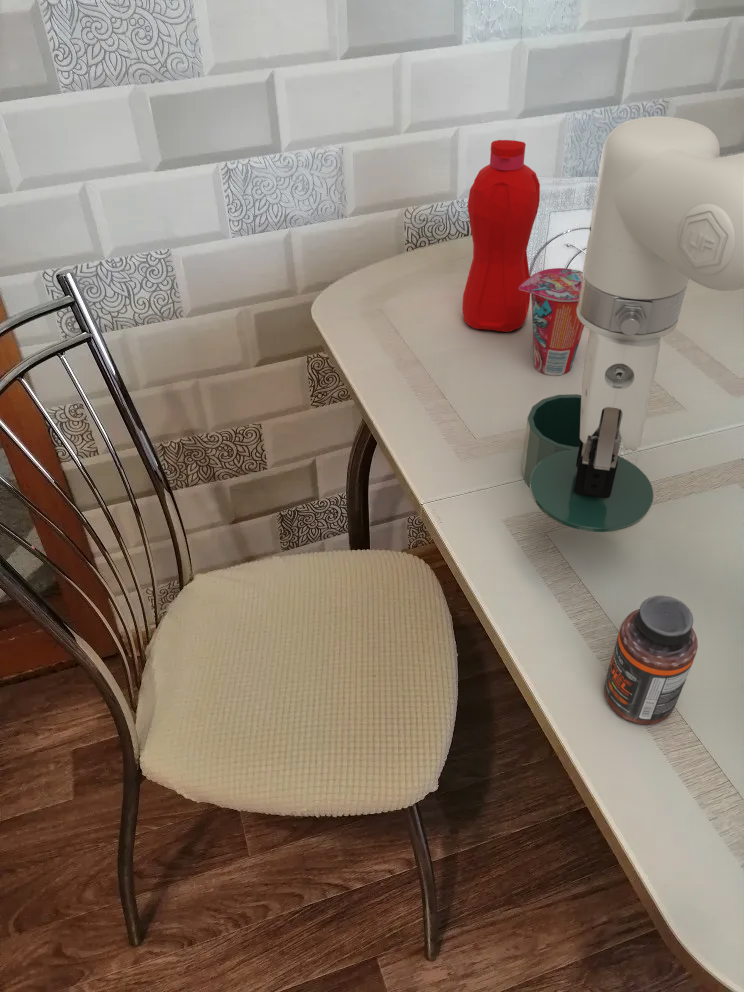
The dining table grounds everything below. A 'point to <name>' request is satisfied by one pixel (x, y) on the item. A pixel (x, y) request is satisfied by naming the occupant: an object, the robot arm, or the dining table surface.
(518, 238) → the water bottle
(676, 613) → the supplement bottle
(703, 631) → the dining table surface
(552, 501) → the lid
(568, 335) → the cup
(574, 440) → the pot
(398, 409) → the dining table surface
